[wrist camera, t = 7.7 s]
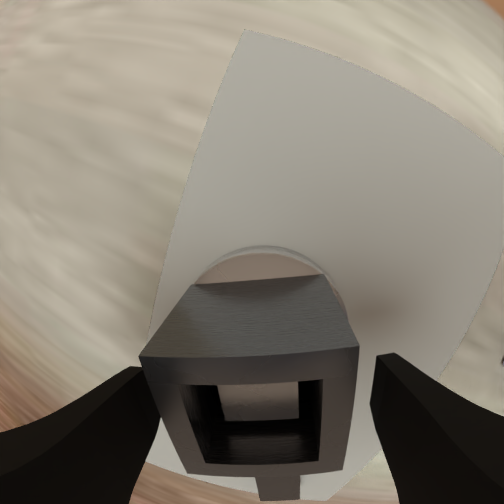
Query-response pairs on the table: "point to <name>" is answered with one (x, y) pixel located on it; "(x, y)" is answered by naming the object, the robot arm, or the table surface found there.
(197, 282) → the ratchet
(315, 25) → the table surface
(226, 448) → the socket
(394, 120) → the mat
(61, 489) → the robot arm
